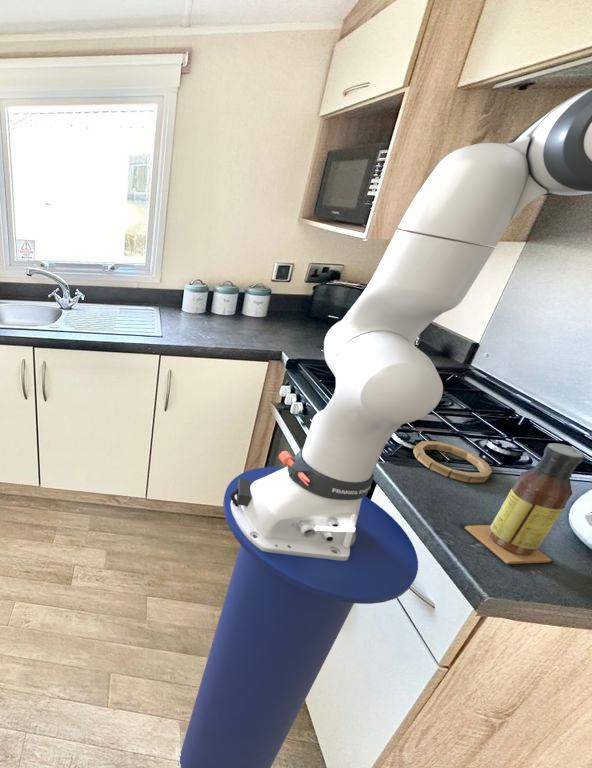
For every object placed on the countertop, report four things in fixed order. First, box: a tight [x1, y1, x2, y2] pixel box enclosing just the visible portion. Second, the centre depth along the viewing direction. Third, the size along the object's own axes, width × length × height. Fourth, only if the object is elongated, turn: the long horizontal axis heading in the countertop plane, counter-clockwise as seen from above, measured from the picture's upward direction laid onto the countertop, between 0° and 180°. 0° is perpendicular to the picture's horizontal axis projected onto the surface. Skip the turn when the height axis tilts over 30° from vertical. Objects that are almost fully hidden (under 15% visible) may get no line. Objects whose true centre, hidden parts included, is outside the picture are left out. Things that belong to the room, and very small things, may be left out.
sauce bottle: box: [489, 442, 585, 555], centre depth 68 cm, size 7×6×20 cm
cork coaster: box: [464, 524, 552, 565], centre depth 73 cm, size 8×8×1 cm
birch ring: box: [412, 440, 493, 484], centre depth 94 cm, size 13×13×2 cm
